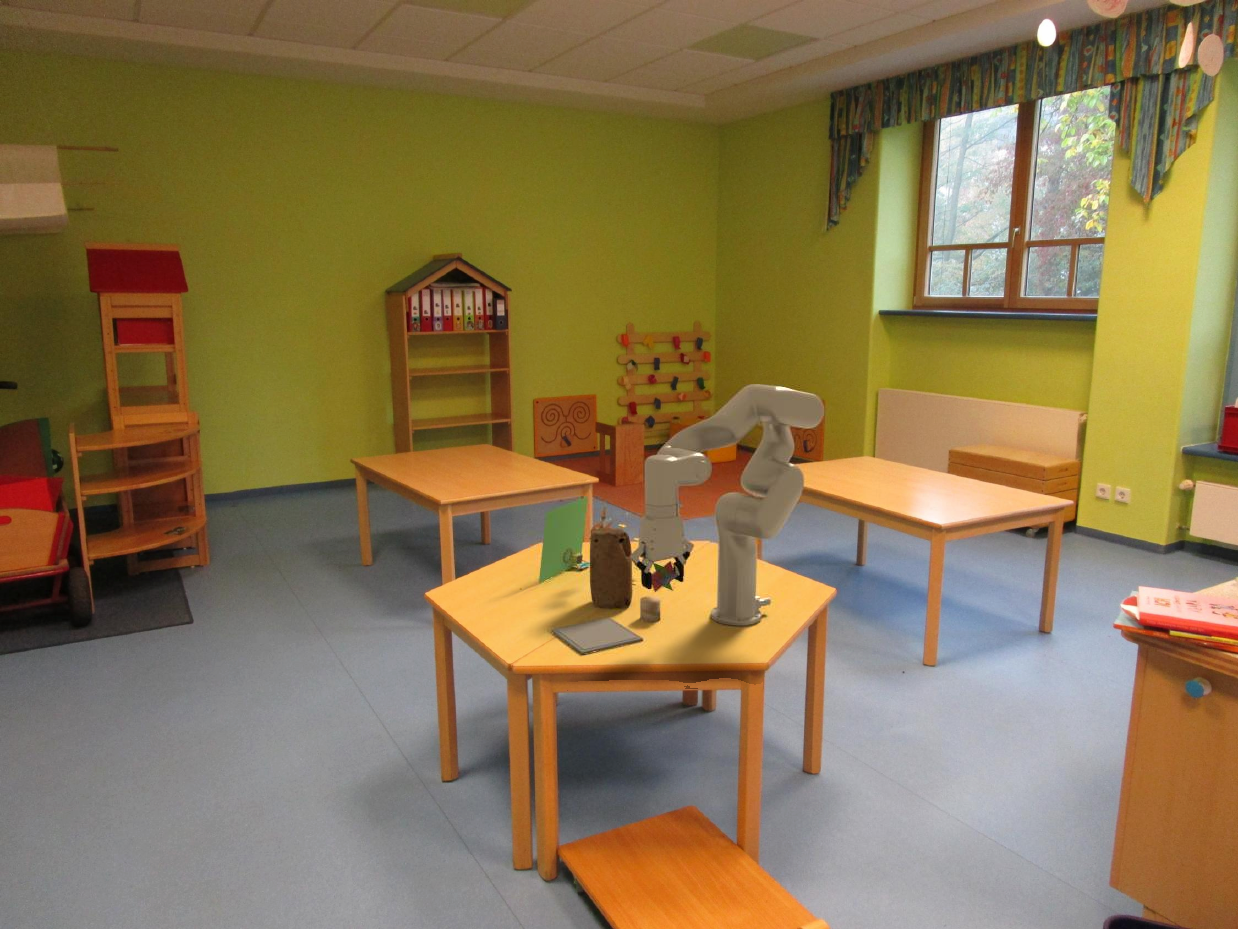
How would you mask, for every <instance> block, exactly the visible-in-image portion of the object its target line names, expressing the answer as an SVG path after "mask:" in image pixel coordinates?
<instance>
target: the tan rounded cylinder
mask: <svg viewBox="0 0 1238 929" xmlns="http://www.w3.org/2000/svg"><path fill="white" fill-rule="evenodd" d="M639 601H640V603H639V606H640V609H639V610H640V611H639V612H640V614H639V615H640V618H639V620H640V621H642V622H644V623H650V624H651V623H657V622H659V621H660V620H661V602H662V601H661V598H660V597H658V596H653V595H652V596H651V595H649V596H648V595H647V596H643V597H640V600H639Z"/></svg>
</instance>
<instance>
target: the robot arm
mask: <svg viewBox="0 0 1238 929" xmlns="http://www.w3.org/2000/svg"><path fill="white" fill-rule="evenodd" d="M824 415H825V405H824V403H823V401H822V400H821V398H820V397H819V396H817V395H816V394H815V393H809V392H805V391H800V390H795V389H792V388H787V387H783V386H777V385H769V384H758V383H756V384H755V383H754V384H748V385H746V386H744V387H743V388H742V389H741V390H739V391H737V393H736V394H735V395H733V397H732V398H731V399H729V401H728V402H727V403H726V404H724V405H723V406H722V407H721V408H720V409H719V410H718V411H717V412H716V413H715V414H713V415H712V416H711V417H709V418H706V419H703V420H700V421H698V422H697V423H695V424H692V425H691V426H690V425H689V426H688V427H686V428H683V429H682V430H680V431H678V432H677V433H676V434H674V435H673V436H672V437H671V438H669V439H668V440H667V442H665V444H663V446H661V447H660V449H659V450H658V451H657V453H656V454H653V455H650V456H648V457H647V458H646V459H645V460H644V501H645V502H644V506H645V508H644V509H645V510H644V511H645V515H643V516H642V517H641V521H640V528H639V533H638V534H639V535H638V538H639V541H638V547H637V548H636V549H635V550H634V551H633V552H632V554H631V555H630V559H631V560H632V564H634V566H635V567H638V568H639V569H640V570H639V571H640V575H641V576H640V577H641V579H640V582H641V585H642V587H643V588H646V589H648V590H652V589H653V588H652V587H653V586H652V573H653V572H651V570H652V568H653V566H654V565H653V563H656V562H662V561H665V560H671V559H673V560H675V561H674V562H673V564H674V565H675V566H676V567H677V568H678V570H679V574H680V575H679V576H677V577H676V578H675V579H674V580H676V581H677V582H679V583H684V577H685V565H687V561H688V558H689V557H690V556H691V553H692V552H693V549H694V547H695V544H694V543H693V542H691V541H689V540H687V539H685V529H684V524H683V519H682V515H681V514H680V509H681V508H682V507H683V506H684V505H683V502H682V501H679V498H680V497H679V487H681V486H682V487H683V486H697V485H700V484H703V483H705V482H706V481H707V480H708V479H709V478H710V477H711V474H712V470H713V466H712V462H711V460H710V458H708V456H706V454H703V453H702V452H706V451H709V450H715V449H721V448H723V449H724V448H726V447H731V446H734V445H736V444H737V443H738V442H740V441H741V440H742V439H744V437H745V436H746V435H747V434H748V433H749V432H750V431H751V430H752V429H753V428H754V427H755V426H756V425H757V424H758V423H760V422H762V426H763V434H762V437H761V441H760V443H759V444H758V447H757V448H756V450H755V451H754V453H753V455H752V456H751V458H750V459H749V461H748V463H747V464H746V466H745V467H744V470H743V472H742V474H741V476H740V484H741V487H742V489H743V491H745V492H747V493H748V494H747V493H742V492H727V493H725V494H723V495H721V496H720V497H719V498H718V500H717V501H716V503H715V508H714V520H715V525H716V530H717V531H716V532H717V544H718V545H717V546H718V547H717V549H718V550H717V588H716V589H717V593H716V594H717V595H716V600H717V601H716V606H715V607H713V608H712V609H711V610H710V618H711V619H712V620H714V621H715V622H717V623H719V624H723V625H728V626H736V627H737V626H738V627H740V626H741V627H742V626H750V625H754V624H757V623H758V622H760V621H762V617H763V616H762V614H763V613H762V611H761V610H760V608H762V607H765V606H770V605H771V603H772V600H771V598H770V597H768V596H767V597H764V598H760V596H757V574H758V573H757V570H758V569H757V567H758V566H757V565H758V561H757V560H758V546H757V542H756V539H758V540H759V539H760V540H770V539H773V538H774V537H776V536H777V535H778V534H779V533H780V532H781V530H782V528H783V527H784V525H785V524H786V522H787V520H788V518H789V517H790V515H791V514H792V511H793V510H794V508H795V507H796V505H797V503H798V502H799V500H800V497H801V496H802V493H803V491H804V490H803V489H804V483H805V478H804V476H805V475H804V473H803V471H802V469H801V468H800V467H799V466H798V465H796V464H794V463H791V462H790V460H791V458H792V456H793V454H794V451H795V441H794V437H793V434H792V430H791V427H793V428H801V429H813V428H816V427H817V426H818V425H819V424H821V422H822V420H823V418H824ZM755 538H756V539H755ZM640 558H642V560H641V559H640ZM673 564H672V567H673V566H674V565H673ZM675 566H674V567H673V569H674V572H675ZM651 567H652V568H651Z"/></svg>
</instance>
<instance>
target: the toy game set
mask: <svg viewBox="0 0 1238 929" xmlns="http://www.w3.org/2000/svg"><path fill="white" fill-rule="evenodd" d="M588 499H589V496H588V495H587V496H585V497H583V498H579V499H576V500H574V501H571V502H569V503H567V504H563V505H562V506H561V505H560V506H558V507H555V508H552V509H550V510H547V511H546V512H545V518H544V519H545V521H544V529H543V539H542V551H541V558H540V560H541V561H540V569H539V570H540V571H539V578H538V585H540V583H541V584H543V583H544V581H545V580H547V579H549V580H551V579H552V578H551V577H553V578H554V576H555V575H557V574H559V573H561V572H563V571H565V572H567V571H568V570H567V569H569V568H571V567H573V566H575V567H577V568H579V569H585V568H586V567H590V561H586V560H583V556H584V555H583V553H582V552H583V551H582V550H583V544H584V534H585V528H586V527H585V526H586V517H587V508H588V502H589V500H588ZM610 521H611V522H610ZM613 521H614V520H613V517H609V518H607V504H606V503H604V506H603V510H602V516H601V517H600V519H599V522H597V523H595V524H594V525H593V526H592V528H590V531H589V534H590V535H591V533H592V532H593V531H596V530H597V529H600V528H611V526H612V524H613ZM607 522H609V523H608V524H607ZM618 527H619V528H620V527H621V529H622V528H628V526H627V525H625V524H620V523H619V524H618ZM590 538H591V536H590V537H589V539H590ZM632 541H636V542H639V537H638V538H637V537H633V539H632ZM577 564H579V565H577ZM576 565H577V566H576ZM573 568H574V567H573ZM571 569H572V568H571ZM633 569H634V570H638V571H641V570H640V569H639V568H638V567H637V566H633ZM566 570H567V571H566ZM569 570H570V569H569ZM563 573H564V572H563ZM561 574H562V573H561ZM559 575H560V574H559ZM557 576H558V575H557ZM555 577H556V576H555ZM550 578H551V579H550ZM547 581H548V580H547ZM542 582H543V583H542ZM545 582H546V581H545ZM636 583H638V582H637V581H636V582H635V581H632V585H633V584H636Z"/></svg>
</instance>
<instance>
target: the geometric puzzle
mask: <svg viewBox="0 0 1238 929" xmlns="http://www.w3.org/2000/svg"><path fill="white" fill-rule="evenodd" d="M665 562H667V563H665V564H664V565H660V564H658V563H656V562H654V563H653V565H652V567H651V569H652V568H653V567H654V570H655V571H653V572H651V573H652V588H651V589H653V591H654V593H657V592H662V591H660V590H661V589H662V588H665V589H668V590H669V591H671V592H673V591H674V589H673V588H675V586H674V585H673V588H672V585H671V582H673V580H674V582H673V583H676V581H675V580H676V579H675V578H676V577H677V576H679V575H680V574H679V570H678V568H677V567H676V566H675V565H674V562H672V560H669V561H665ZM673 565H674V566H675V572H674V569H673V567H674V566H673Z"/></svg>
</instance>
